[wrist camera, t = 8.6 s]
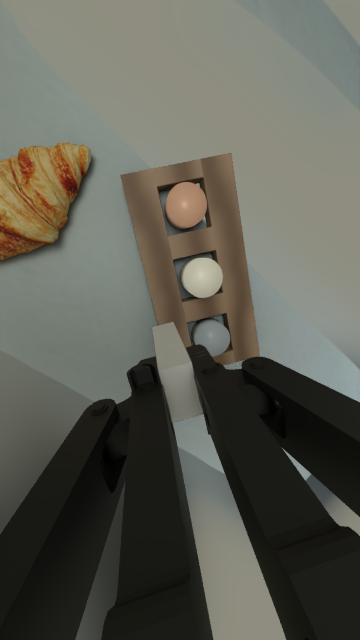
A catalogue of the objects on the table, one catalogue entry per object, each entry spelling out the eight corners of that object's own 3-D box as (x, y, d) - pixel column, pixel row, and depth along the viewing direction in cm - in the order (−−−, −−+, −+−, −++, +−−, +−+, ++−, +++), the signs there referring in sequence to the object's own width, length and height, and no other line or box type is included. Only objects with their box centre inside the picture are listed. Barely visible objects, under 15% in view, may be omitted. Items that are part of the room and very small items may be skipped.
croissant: (81, 146, 33) (38, 82, 25) (123, 192, 31) (90, 138, 23) (-31, 248, 34) (-106, 216, 26) (2, 300, 32) (-68, 282, 24)
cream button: (184, 297, 34) (188, 301, 31) (176, 262, 33) (180, 262, 30) (218, 289, 35) (225, 292, 31) (212, 254, 33) (219, 253, 30)
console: (170, 371, 39) (171, 378, 37) (122, 181, 32) (120, 175, 29) (253, 349, 40) (259, 355, 38) (225, 160, 33) (231, 152, 30)
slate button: (194, 351, 38) (199, 360, 35) (188, 321, 37) (192, 327, 34) (225, 343, 39) (232, 351, 35) (220, 313, 37) (227, 319, 34)
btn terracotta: (169, 233, 34) (171, 230, 30) (160, 194, 32) (162, 186, 29) (204, 225, 34) (210, 221, 30) (197, 186, 33) (202, 178, 29)
